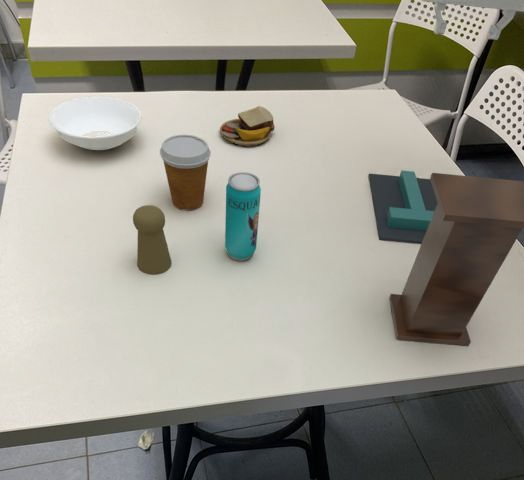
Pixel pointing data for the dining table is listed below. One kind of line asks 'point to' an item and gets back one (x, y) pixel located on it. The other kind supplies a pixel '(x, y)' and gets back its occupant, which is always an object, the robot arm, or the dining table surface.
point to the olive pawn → (151, 240)
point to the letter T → (409, 206)
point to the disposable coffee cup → (186, 169)
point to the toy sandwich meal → (249, 127)
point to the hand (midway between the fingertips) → (465, 36)
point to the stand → (458, 257)
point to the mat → (397, 206)
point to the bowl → (95, 121)
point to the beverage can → (242, 215)
